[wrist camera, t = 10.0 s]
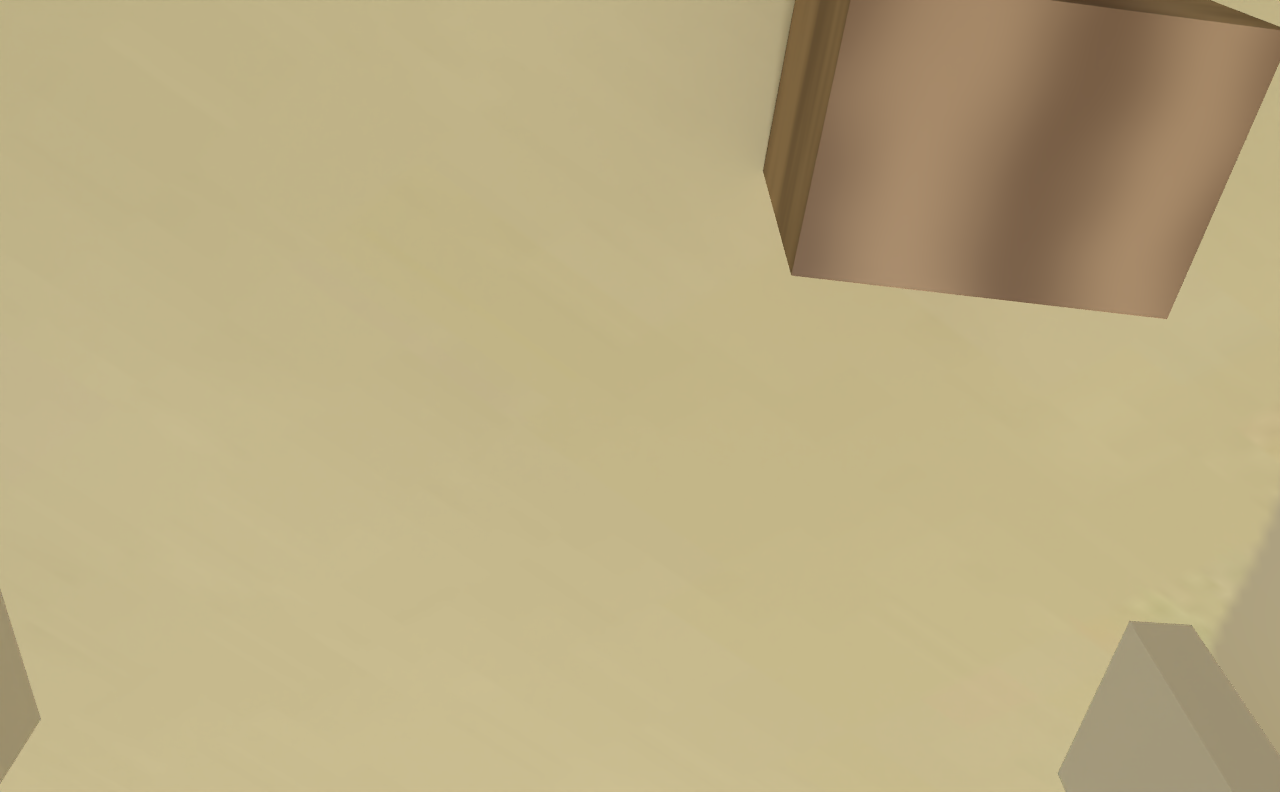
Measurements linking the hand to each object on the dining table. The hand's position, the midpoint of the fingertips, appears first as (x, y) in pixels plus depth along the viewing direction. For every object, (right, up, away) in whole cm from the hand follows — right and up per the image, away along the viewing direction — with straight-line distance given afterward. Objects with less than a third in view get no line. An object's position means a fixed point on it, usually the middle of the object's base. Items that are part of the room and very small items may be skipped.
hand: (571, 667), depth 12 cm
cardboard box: (+11, +14, +22) cm, 29 cm away
